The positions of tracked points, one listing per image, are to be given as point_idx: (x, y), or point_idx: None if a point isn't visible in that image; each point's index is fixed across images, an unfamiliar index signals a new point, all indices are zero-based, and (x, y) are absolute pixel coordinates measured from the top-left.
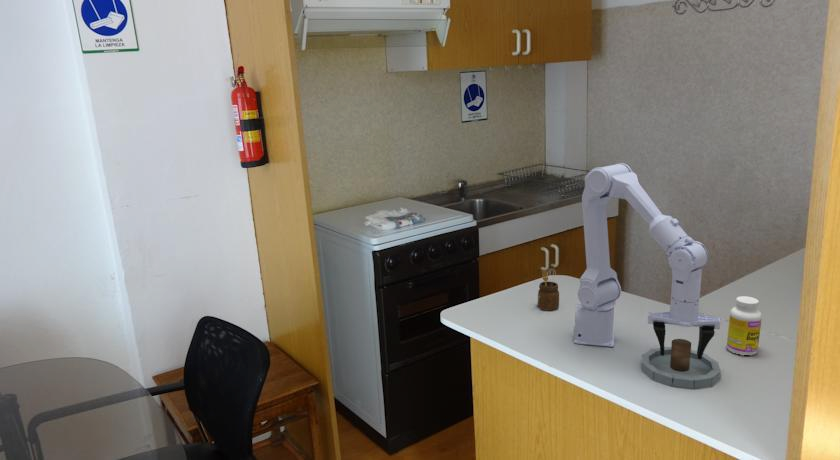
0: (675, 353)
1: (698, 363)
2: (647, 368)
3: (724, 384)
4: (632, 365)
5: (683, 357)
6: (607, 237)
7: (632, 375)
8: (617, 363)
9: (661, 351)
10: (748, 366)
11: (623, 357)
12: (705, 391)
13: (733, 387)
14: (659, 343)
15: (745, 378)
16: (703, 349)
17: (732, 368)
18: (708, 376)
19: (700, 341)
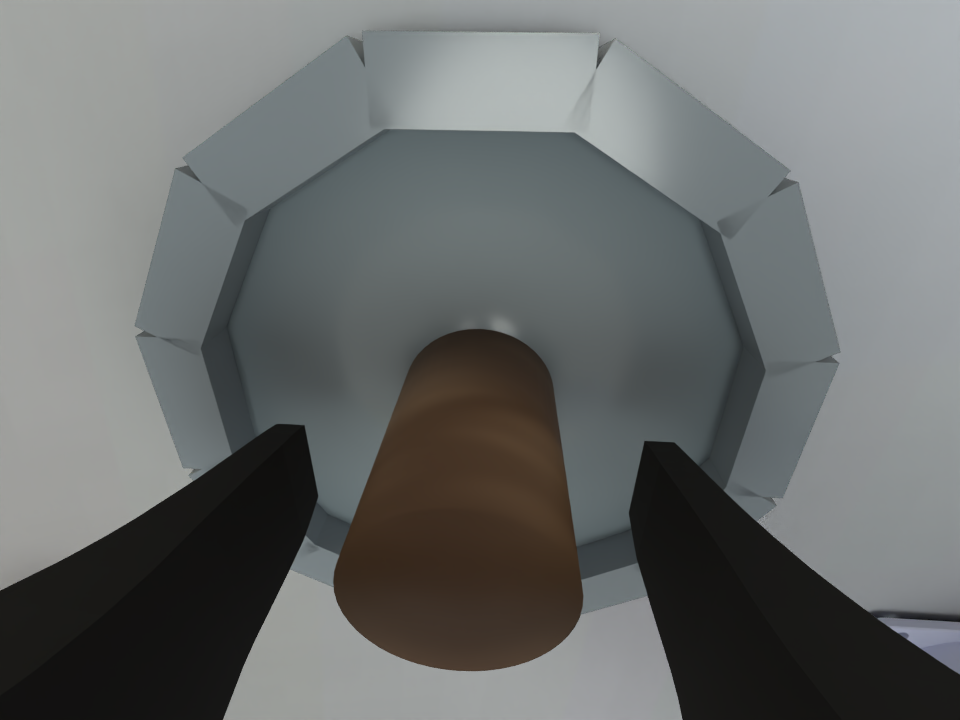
0: (536, 445)
1: (338, 471)
2: (812, 276)
3: (137, 213)
4: (836, 406)
5: (448, 406)
6: None
7: (919, 227)
8: (953, 420)
9: (695, 467)
10: (54, 498)
11: (855, 508)
12: (272, 15)
13: (60, 171)
14: (786, 549)
15: (23, 344)
16: (186, 492)
17: (135, 463)
18: (218, 184)
19: (182, 611)
